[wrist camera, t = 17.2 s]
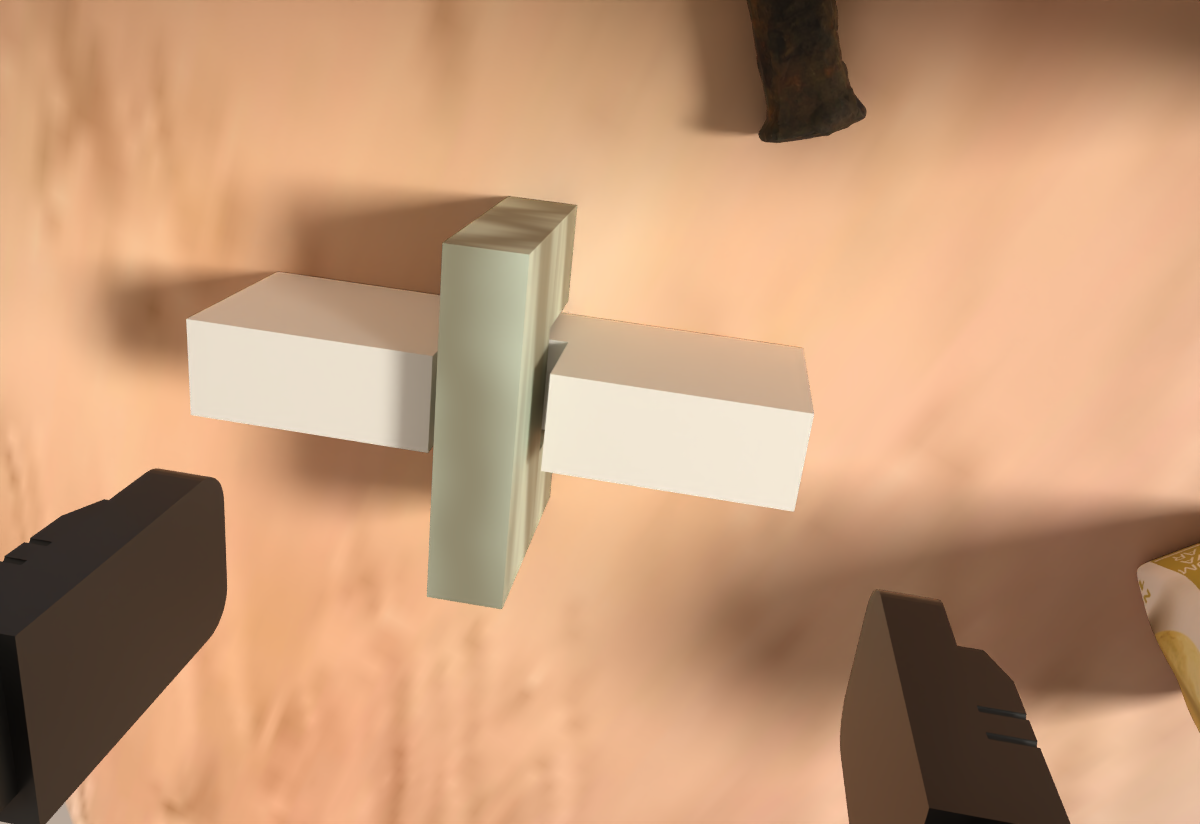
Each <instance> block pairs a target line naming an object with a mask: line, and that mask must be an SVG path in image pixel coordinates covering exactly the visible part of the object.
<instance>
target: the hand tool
mask: <svg viewBox="0 0 1200 824" xmlns="http://www.w3.org/2000/svg"><path fill="white" fill-rule="evenodd" d="M747 4H748V8H749V12H750V17H751V21H752V29H753V35H754V41H755V47H756V53H757V64H758V69H759V72H760V76H761V79H762V83H763V87H764V92H765V98H766V104H767V119H766V121H765V123H764V125H763V126H762V128H761V130H760V131H759V134H758V135H759V138H760V139H761V140H762V141H764V142H772V143H781V142H788V141H796V140H802V139H809V138H813V137H819V136H828V135H830V134H832V133H834V132H836V131H839V130H842V129H845V128H848V127H849V126H850V125H851V124H853V123H856V122H858V121H860V120H862V119H864V118H865V116H866V108H865V107H864V105H863V104H862V103H861V102H860V100H859V99H858V98H857V97H856V95H855V94H854V93H853V89H852V88H851V86H850V82H849V79H848V71H847V67H846V65H845V63H844V62H843V61H842V57H841V49H840V45H839V37H838V32H837V30H838V16H837V6H836V1H835V0H747Z"/></svg>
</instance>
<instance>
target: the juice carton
mask: <svg viewBox="0 0 1200 824" xmlns="http://www.w3.org/2000/svg"><path fill="white" fill-rule="evenodd" d="M1137 578H1138V583H1139V587H1140V591H1141V595H1142V599H1143V602H1144V606H1145V610H1146V613H1147V616H1148V619H1149V622H1150V625H1151V628H1152V630H1153V633H1154V635H1155V638H1156V640H1157V642H1158V644H1159V646H1160V648H1161V650H1162V652H1163V654H1164V656H1165V658H1166V660H1167V662H1168V664H1169V665H1170V667H1171V669H1172V670H1173V672H1174V674H1175V676H1176V678H1177V681H1178V683H1179V686H1180V688H1181V691H1182V694H1183V697H1184V700H1185V702H1186V705H1187V707H1188V710H1189V712H1190V714H1191V717H1192V719H1193V721H1194V723H1195V724H1196V726H1197V728H1198V730H1199V732H1200V543H1198V544H1195V545H1192V546H1189V547H1187V548H1184V549H1181V550H1179V551H1176V552H1173V553H1170V554H1168V555H1165V556H1162V557H1160V558H1157V559H1155V560H1152V561H1149V562H1147V563H1145V564H1143V565H1141V566H1140V567H1139V568H1138V569H1137Z"/></svg>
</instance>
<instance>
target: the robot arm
mask: <svg viewBox="0 0 1200 824" xmlns="http://www.w3.org/2000/svg"><path fill="white" fill-rule="evenodd" d="M226 595H227V570H226V543H225V516H224V496H223V490H222V487H221V485H220V483H219V481H218V480H216V479H215V478H212V477H206V476H200V475H194V474H188V473H182V472H176V471H170V470H164V469H152V470H150V471H148V472H146V473H145V474H144V475H142V476H141V477H140V478H138V479H137V480H136V481H134V482H133V483H131V484H130V485H129V486H127V487H126V488H125V489H123V490H122V491H121V492H119V493H118V494H117V495H115V496H114V497H113V498H111V499H110V500H105V499H104V500H101V501H99V502H96V503H94V504H91V505H88V506H86V507H83V508H81V509H78V510H75V511H73V512H70V513H68V514H65V515H62V516H61V517H59V518H58V519H56V520H55V521H54V522H52V523H51V524H49V525H48V526H47V527H45V528H44V529H42V530H41V531H40V532H38V533H37V534H35V535H34V536H32V537H31V538H30V542H29V543H25V542H24V543H23V544H21V545H20V546H18V547H17V548H16V549H14V550H13V551H11V552H10V553H9V554H7V555H6V556H5V558H4V561H3V562H1V561H0V821H1V822H6V823H11V824H46V823H47V822H48V821H49V819H50V818H51V817H52V816H53V815H54V814H55V813H56V811H57V810H58V809H59V808H60V807H61V806H62V805H63V803H64V802H65V801H66V800H67V799H68V798H69V797H70V796H71V795H72V793H73V792H74V791H75V790H76V789H77V788H78V787H79V785H80V784H81V783H82V782H83V781H84V780H85V779H86V778H87V776H88V775H89V774H90V773H91V772H92V771H93V770H94V768H95V767H96V766H97V765H98V764H99V763H100V762H101V761H102V759H103V758H104V757H105V756H106V755H107V754H108V753H109V751H110V750H111V749H112V748H113V747H114V746H115V745H116V744H117V742H118V741H119V740H120V739H121V738H122V737H123V736H124V735H125V733H126V732H127V731H128V730H129V729H130V728H131V727H132V725H133V724H134V723H135V722H136V721H137V720H138V719H139V718H140V716H141V715H142V714H143V713H144V712H145V711H146V710H147V708H148V707H149V706H150V705H151V704H152V703H153V702H154V701H155V699H156V698H157V697H158V696H159V695H160V694H161V693H162V692H163V690H164V689H165V688H166V687H167V686H168V685H169V684H170V682H171V681H172V680H173V679H174V678H175V677H176V676H177V675H178V673H179V672H180V671H181V670H182V669H183V668H184V667H185V665H186V664H187V663H188V662H189V661H190V660H191V659H192V658H193V656H194V655H195V654H196V653H197V652H198V651H199V650H200V649H201V647H202V646H203V645H204V644H205V643H206V642H207V641H208V639H209V638H210V637H211V636H212V634H213V633H214V631H215V629H216V628H217V626H218V624H219V621H220V619H221V616H222V613H223V610H224V606H225V601H226ZM840 751H841V761H842V769H843V777H844V785H845V793H846V801H847V809H848V817H849V824H1070V821H1069V819H1068V816H1067V814H1066V811H1065V809H1064V806H1063V804H1062V801H1061V799H1060V796H1059V794H1058V791H1057V789H1056V787H1055V784H1054V782H1053V779H1052V777H1051V774H1050V772H1049V769H1048V767H1047V764H1046V762H1045V759H1044V757H1043V754H1042V752H1041V749H1040V748H1037V739H1036V737H1035V734H1034V732H1033V729H1032V727H1031V724H1030V722H1029V720H1026V712H1025V709H1024V707H1023V704H1022V702H1021V699H1020V697H1019V694H1018V692H1017V689H1016V687H1015V684H1014V682H1013V681H1012V680H1011V679H1010V678H1009V676H1008V675H1007V674H1006V673H1005V672H1004V671H1003V670H1002V669H1001V668H1000V667H999V666H998V665H997V664H996V663H995V662H994V661H993V660H992V659H991V658H990V657H989V656H988V655H987V654H986V653H985V652H984V651H983V650H978V649H972V648H966V647H960V646H957V645H956V642H955V639H954V636H953V633H952V630H951V627H950V624H949V621H948V618H947V615H946V612H945V609H944V606H943V603H942V602H941V601H940V600H938V599H932V598H926V597H920V596H914V595H908V594H902V593H896V592H890V591H884V590H878V589H876V590H874V591H873V593H872V595H871V597H870V599H869V602H868V606H867V609H866V613H865V617H864V621H863V626H862V630H861V634H860V638H859V642H858V646H857V650H856V654H855V658H854V662H853V666H852V670H851V675H850V679H849V683H848V687H847V691H846V695H845V700H844V705H843V711H842V719H841V731H840Z"/></svg>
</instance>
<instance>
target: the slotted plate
mask: <svg viewBox="0 0 1200 824" xmlns="http://www.w3.org/2000/svg"><path fill="white" fill-rule="evenodd" d="M576 212H577V205H572V204H564V203H557V202H549V201H541V200H534V199H526V198H518V197H510V196H508V197H507V198H506V199H504V200H503V201H501V202H500V203H498V204H497V205H496V206H494V207H493V208H491V209H490V210H489V211H487V212H486V213H484V214H483V215H481V216H480V217H479V218H477V219H476V220H474V221H473V222H472V223H470V224H469V225H467V226H466V227H464V228H463V229H462V230H460V231H459V232H457V233H456V234H454V235H453V236H452V237H450V238H449V239H447V240H446V241H445V242H443V243H442V266H441V289H440V311H439V334H438V357H437V379H436V402H435V425H434V447H433V470H432V493H431V515H430V538H429V561H428V583H427V597H432V598H438V599H444V600H450V601H456V602H462V603H468V604H473V605H479V606H485V607H491V608H497V609H502V608H503V606H504V603H505V601H506V599H507V596H508V594H509V592H510V589H511V587H512V585H513V582H514V580H515V577H516V575H517V573H518V570H519V568H520V566H521V563H522V561H523V559H524V556H525V554H526V552H527V549H528V547H529V545H530V542H531V540H532V537H533V535H534V533H535V530H536V528H537V526H538V523H539V521H540V519H541V516H542V514H543V512H544V509H545V507H546V505H547V502H548V500H549V498H550V490H551V479H552V473H550V472H544V471H541V465H542V455H543V444H544V434H545V430H543V429H541V428H542V416H543V405H544V394H545V382H546V371H547V360H548V348H549V337H550V328H551V326H552V325H553V323H554V322H555V320H556V319H557V317H558V316H559V314H560V313H561V311H562V310H563V308H564V307H565V305H566V303H567V302H568V298H569V287H570V276H571V266H572V255H573V244H574V234H575V223H576Z"/></svg>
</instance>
